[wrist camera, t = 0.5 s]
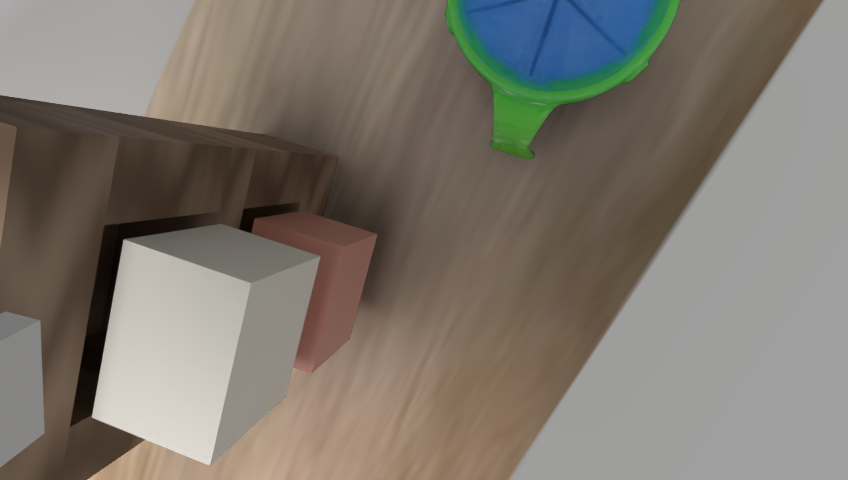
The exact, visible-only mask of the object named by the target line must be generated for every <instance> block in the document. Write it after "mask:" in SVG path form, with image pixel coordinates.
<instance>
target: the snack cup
mask: <svg viewBox="0 0 848 480" xmlns="http://www.w3.org/2000/svg"><path fill="white" fill-rule="evenodd" d="M679 2H680V0H447V5H448V6H447V8H446V9H445V15H446V20H447V26H448V30H449V32H450V33H451V34H452V35H453V36H454V37H455V38H456V41H457V43H458V45H459V47H460V49H461V51H462V52H463V54H464V55H465V57H466V59H467V60H468V62H469V63H470V64H471V65H472V67H473V68H474V69H475V70H476V71H477V72H478V73H479V75H480V76H482V77H483V78H484V79H485V80H486V81H487V82H488V83H489V84H490V85H491V87H492V90H493V140H491V141H490V143H489V145H490V147H492V148H493V149H496V150H499V151H504V152H506V153H508V154H512V155H516V156H518V157H521V158H525V159H532V158H534V157H535V153H534V152H533V151H532V150H530V149H529V144H530V143H531V141H532V139H533V137H534V136H535V134H536V132H537V131H538V129H539V128H540V127H541V125H542V124H543V122H544V121H545V119H546V118H547V116H548V115H549V114H550V112H551V111H552V110H553V109H554V108H555V107H557V106H558V105H561V104H569V103H574V102H578V101H582V100H586V99H589V98H592V97H595V96H597V95H600V94H602V93H604V92H606V91H609V90H611V89H612V88H614V87H616V86H617V85H619V84H621V83H627V82H629V81H631V80H632V79H634V78H635V77H636V76H637V75H638V74H639V73H640V72H642V71H643V70H644V69H645V68H646V67H647V66H648V64H649V58H650V57H651V55H652V54H653V53H654V52H655V51H656V49H657V48H658V46H659V45H660V43H661V42H662V40H663V39H664V37H665V35H666V34H667V32H668V30H669V28H670V26H671V24H672V22H673V20H674V18H675V15H676V12H677V9H678V6H679Z"/></svg>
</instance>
